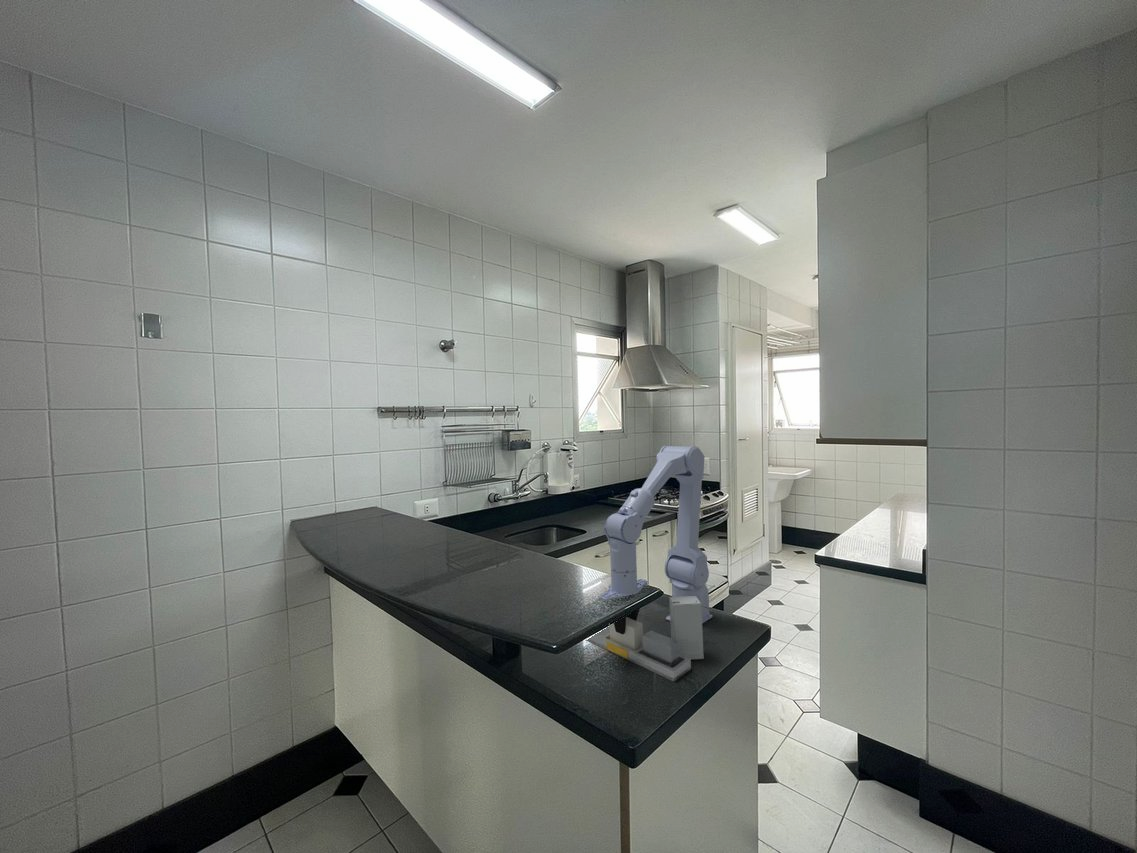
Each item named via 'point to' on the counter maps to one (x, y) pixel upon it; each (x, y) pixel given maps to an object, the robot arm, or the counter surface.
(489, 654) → the counter surface
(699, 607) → the skincare box
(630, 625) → the tall white prism
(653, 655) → the tray
